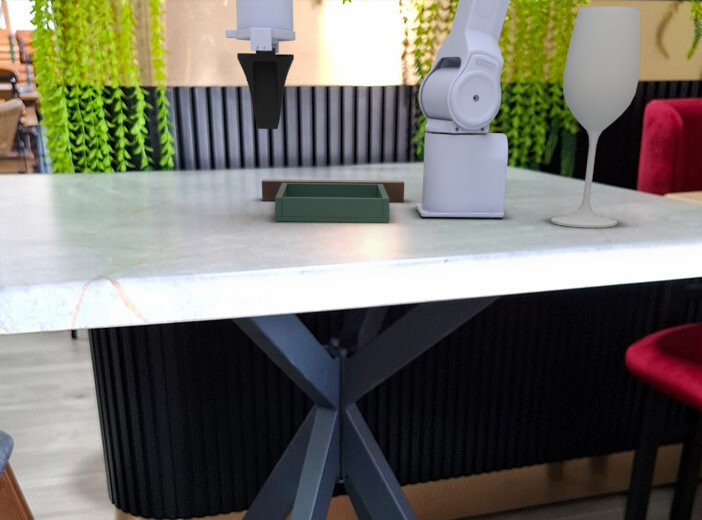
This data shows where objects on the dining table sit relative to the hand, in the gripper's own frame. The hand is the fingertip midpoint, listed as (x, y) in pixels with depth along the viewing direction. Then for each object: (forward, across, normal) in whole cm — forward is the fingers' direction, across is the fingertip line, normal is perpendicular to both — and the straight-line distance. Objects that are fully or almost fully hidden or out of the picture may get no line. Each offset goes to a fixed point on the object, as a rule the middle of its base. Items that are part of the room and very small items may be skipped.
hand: (267, 128), depth 95 cm
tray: (+9, -6, +7) cm, 13 cm away
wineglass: (+9, 0, +35) cm, 36 cm away
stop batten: (+9, -17, +7) cm, 21 cm away
